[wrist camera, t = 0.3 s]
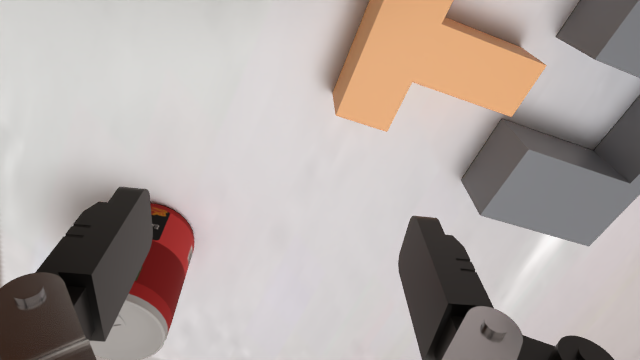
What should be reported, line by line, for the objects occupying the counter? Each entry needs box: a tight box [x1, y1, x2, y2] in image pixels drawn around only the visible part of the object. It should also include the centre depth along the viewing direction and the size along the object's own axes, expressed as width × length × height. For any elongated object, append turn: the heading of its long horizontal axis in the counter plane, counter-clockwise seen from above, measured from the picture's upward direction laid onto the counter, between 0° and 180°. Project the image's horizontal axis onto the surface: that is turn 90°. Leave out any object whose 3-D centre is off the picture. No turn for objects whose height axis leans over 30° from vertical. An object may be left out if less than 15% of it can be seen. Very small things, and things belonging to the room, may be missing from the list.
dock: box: [461, 0, 640, 246], centre depth 32 cm, size 20×11×5 cm, turn 160°
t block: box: [333, 0, 547, 132], centre depth 29 cm, size 12×12×4 cm
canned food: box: [89, 203, 194, 360], centre depth 36 cm, size 8×8×11 cm
